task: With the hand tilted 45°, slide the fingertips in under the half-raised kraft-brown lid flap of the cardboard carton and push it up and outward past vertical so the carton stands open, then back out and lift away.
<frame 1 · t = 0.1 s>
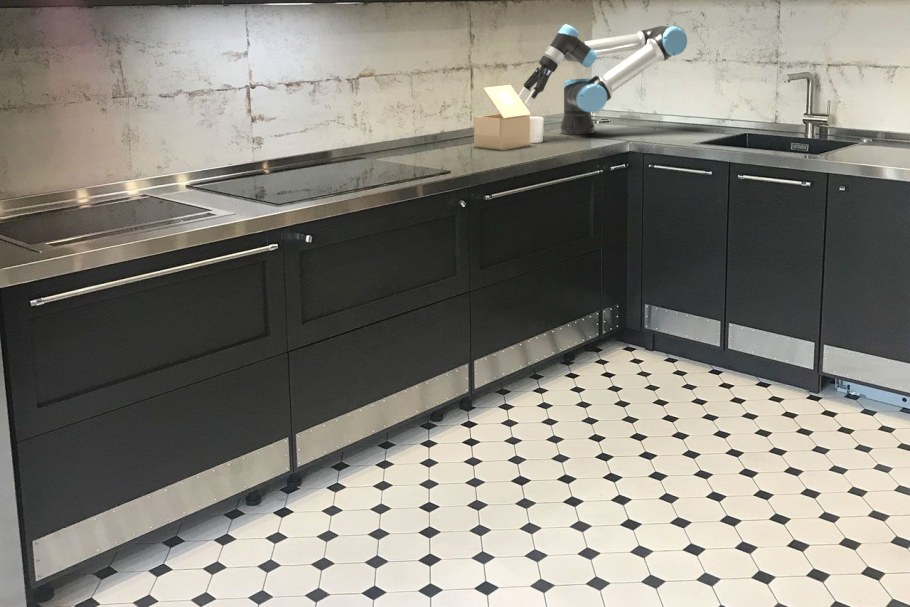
hand: (522, 103, 428), 15 cm above the worktop, tool tilted 35°, fingers open, 13 cm apart
lid flap: (506, 101, 409), point 18 cm above the worktop, hinge at 45.0°
white cup: (534, 142, 427), on the worktop
carton: (502, 146, 417), on the worktop
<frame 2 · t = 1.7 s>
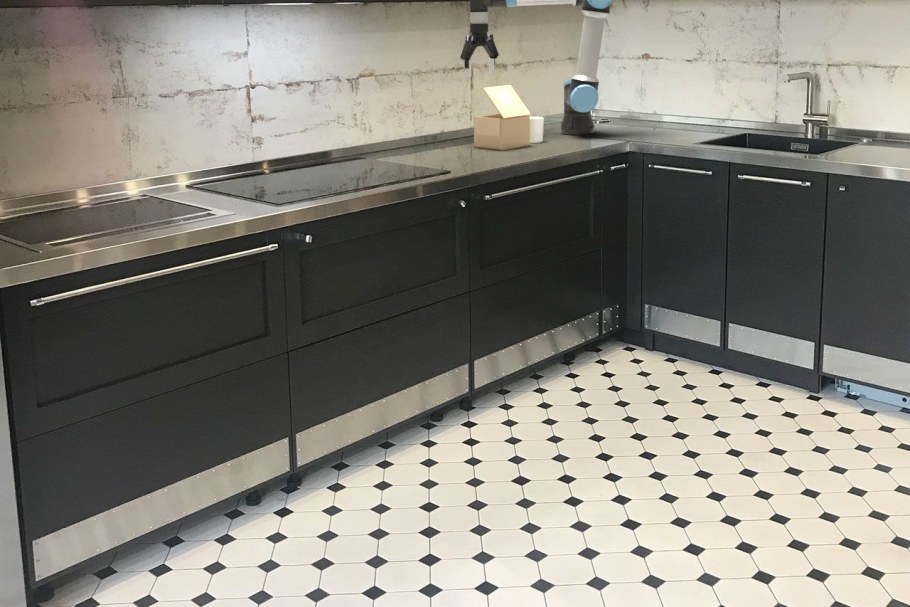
hand: (480, 75, 429), 27 cm above the worktop, tool pointing down, fingers open, 13 cm apart
nothing on the worktop moved.
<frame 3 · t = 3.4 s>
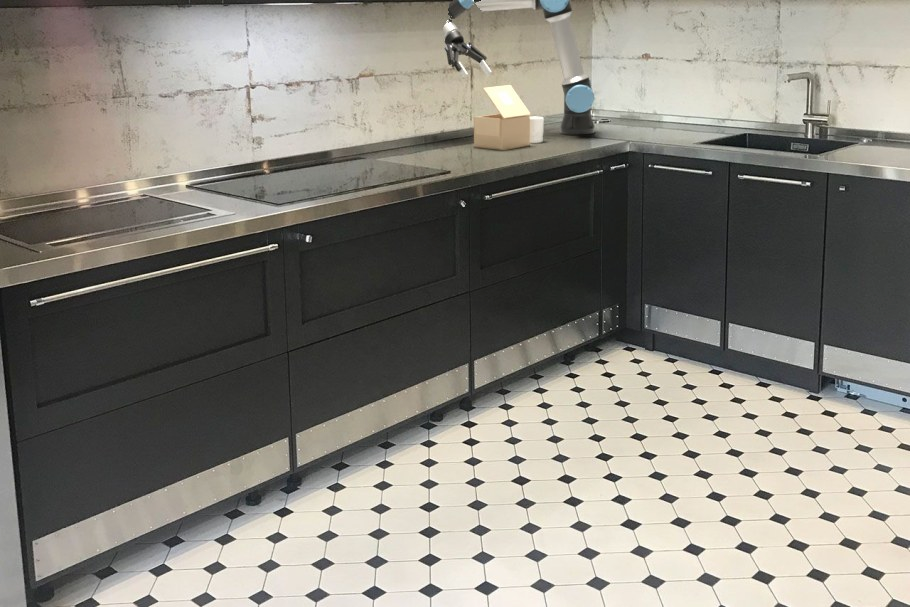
hand: (477, 75, 418), 28 cm above the worktop, tool tilted 45°, fingers open, 13 cm apart
nothing on the worktop moved.
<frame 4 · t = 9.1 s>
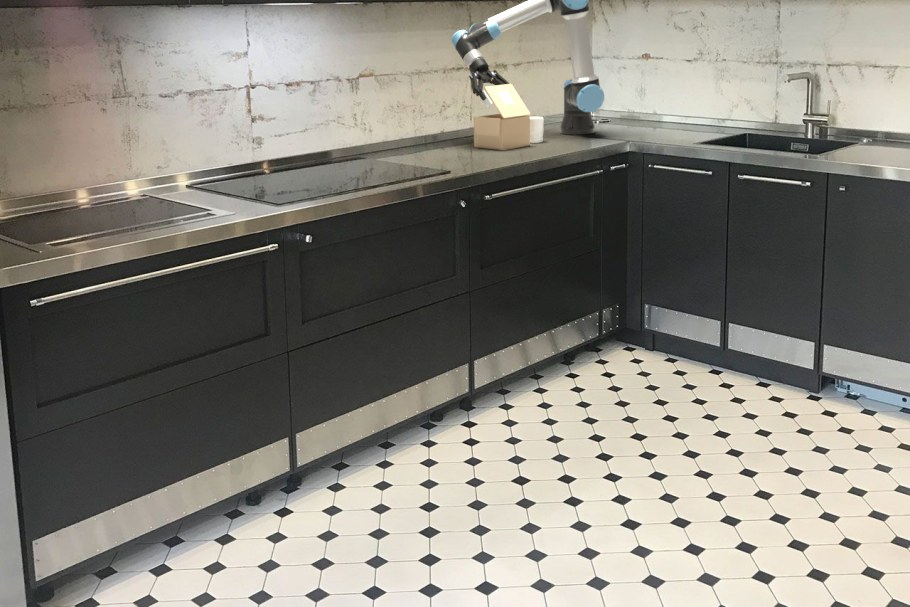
hand: (502, 104, 409), 17 cm above the worktop, tool tilted 45°, fingers open, 13 cm apart
lid flap: (507, 100, 409), point 18 cm above the worktop, hinge at 47.7°, touching gripper
everything else where it was.
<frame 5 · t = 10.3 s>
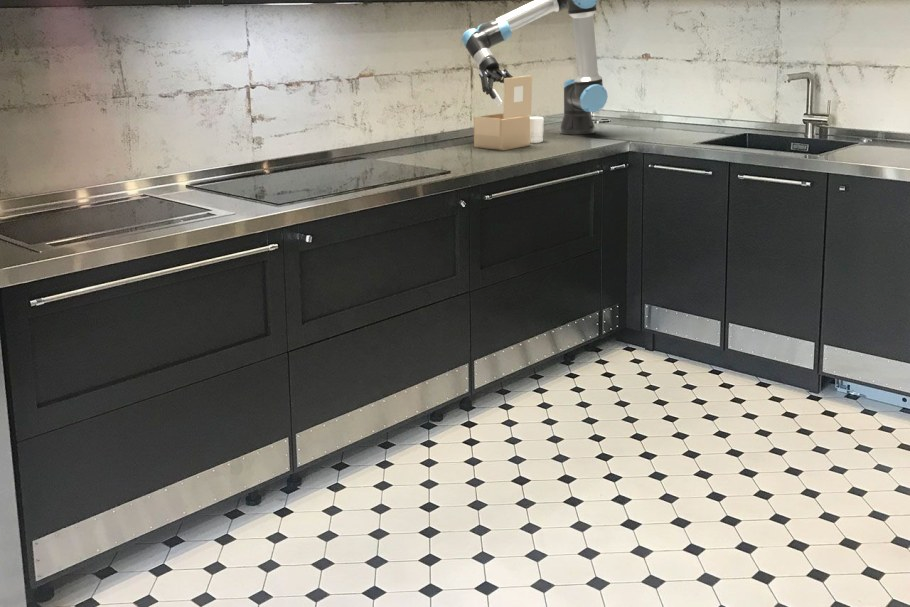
hand: (512, 103, 405), 18 cm above the worktop, tool tilted 45°, fingers open, 13 cm apart
lid flap: (517, 97, 404), point 20 cm above the worktop, hinge at 92.8°, touching gripper
everything else where it was.
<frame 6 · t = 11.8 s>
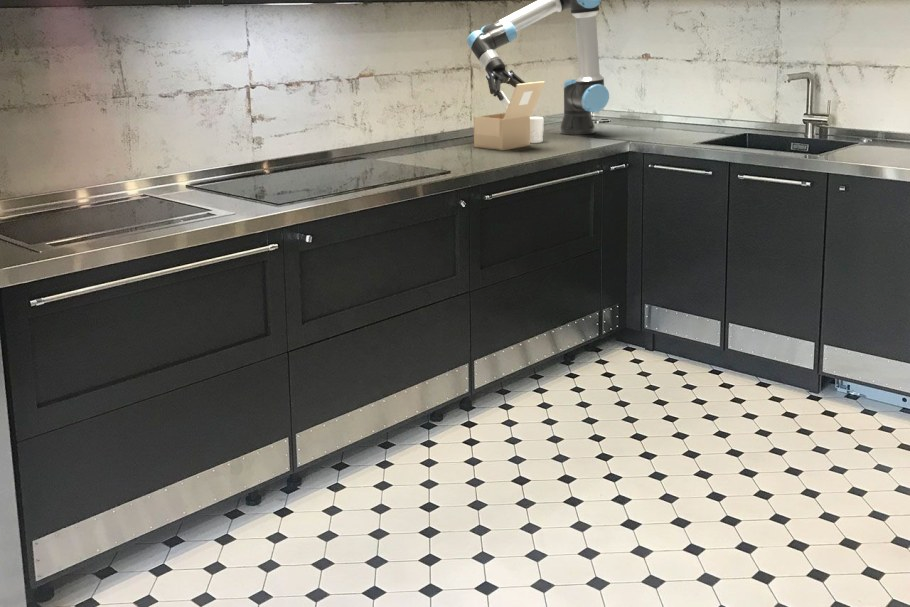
hand: (520, 104, 404), 17 cm above the worktop, tool tilted 45°
lid flap: (524, 100, 402), point 19 cm above the worktop, hinge at 118.9°, touching gripper
everything else where it was.
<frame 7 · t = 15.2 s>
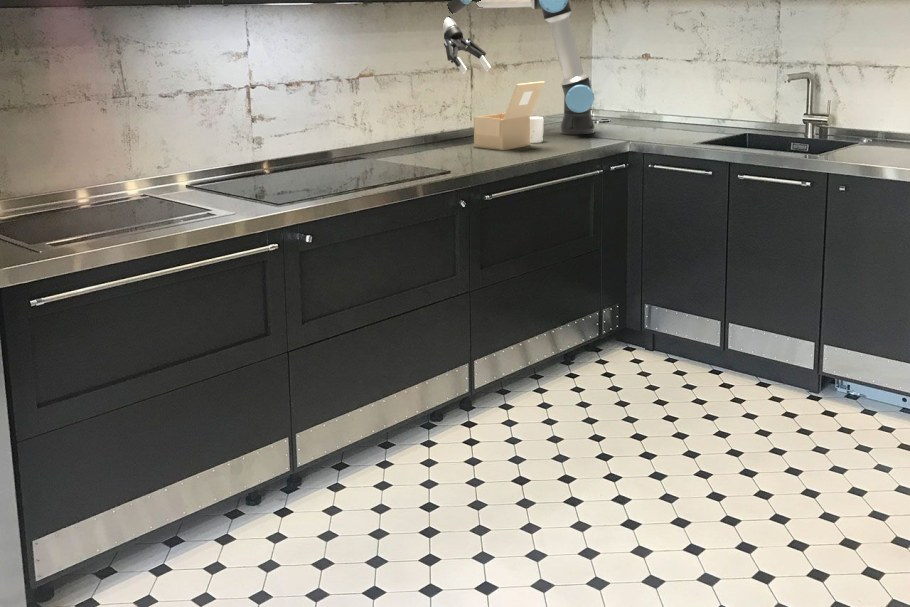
hand: (477, 70, 418), 30 cm above the worktop, tool tilted 45°, fingers open, 13 cm apart
lid flap: (524, 100, 402), point 19 cm above the worktop, hinge at 119.0°
everything else where it was.
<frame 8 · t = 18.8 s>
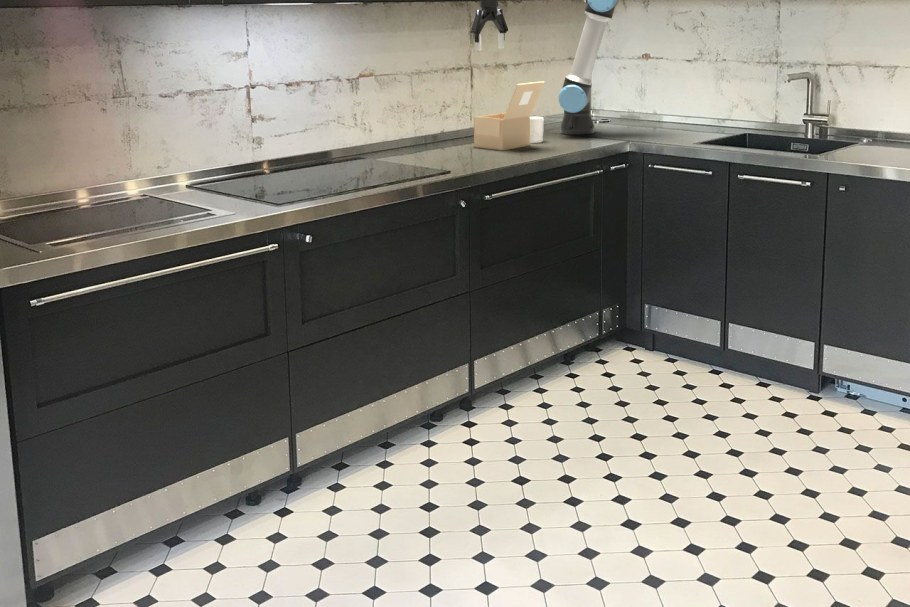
hand: (489, 49, 436), 37 cm above the worktop, tool pointing down, fingers open, 13 cm apart
nothing on the worktop moved.
at the end: lid flap at +119° (first picture: +45°); white cup moved 0.2 cm from its start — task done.
